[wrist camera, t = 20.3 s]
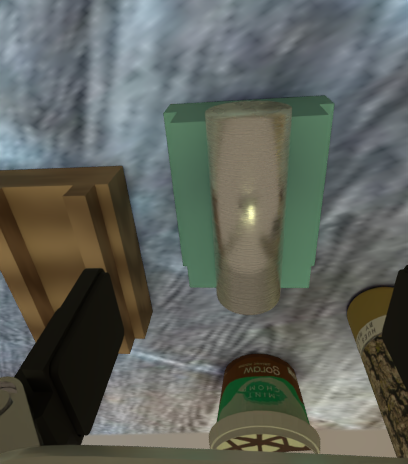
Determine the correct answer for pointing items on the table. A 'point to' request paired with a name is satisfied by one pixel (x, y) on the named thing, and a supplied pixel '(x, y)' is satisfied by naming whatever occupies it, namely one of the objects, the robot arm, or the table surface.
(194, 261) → the v block
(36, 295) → the wooden channel block
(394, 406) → the bark patterned canister
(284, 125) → the axle
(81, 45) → the table surface
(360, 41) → the table surface
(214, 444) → the food container
